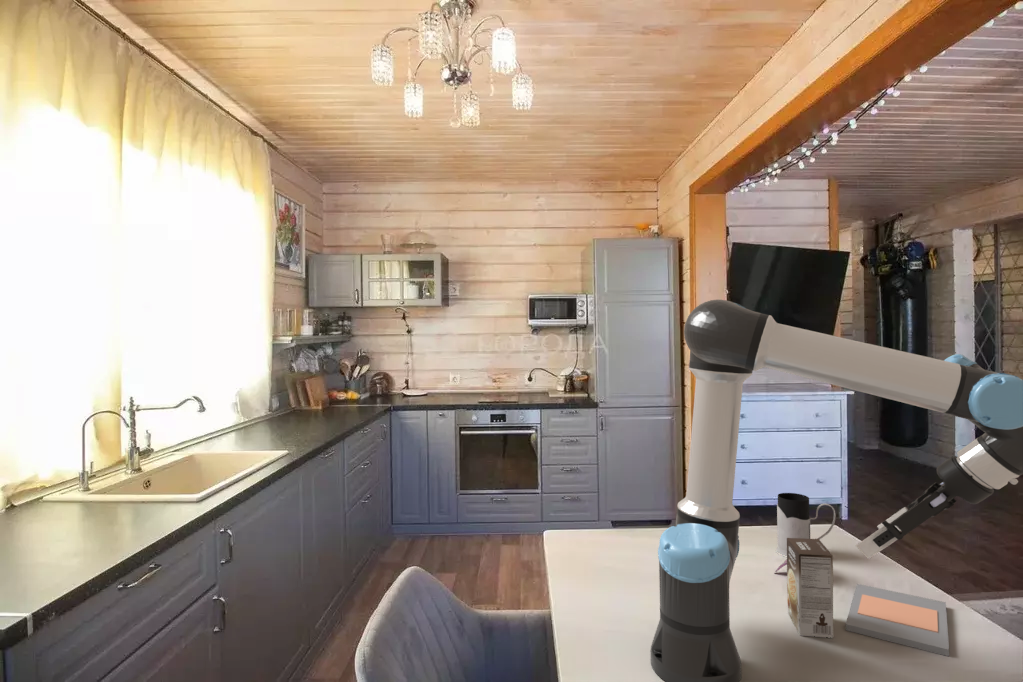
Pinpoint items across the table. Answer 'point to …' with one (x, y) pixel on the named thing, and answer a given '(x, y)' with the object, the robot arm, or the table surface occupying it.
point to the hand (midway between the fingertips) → (873, 541)
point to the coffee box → (810, 587)
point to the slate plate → (899, 618)
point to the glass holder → (794, 519)
